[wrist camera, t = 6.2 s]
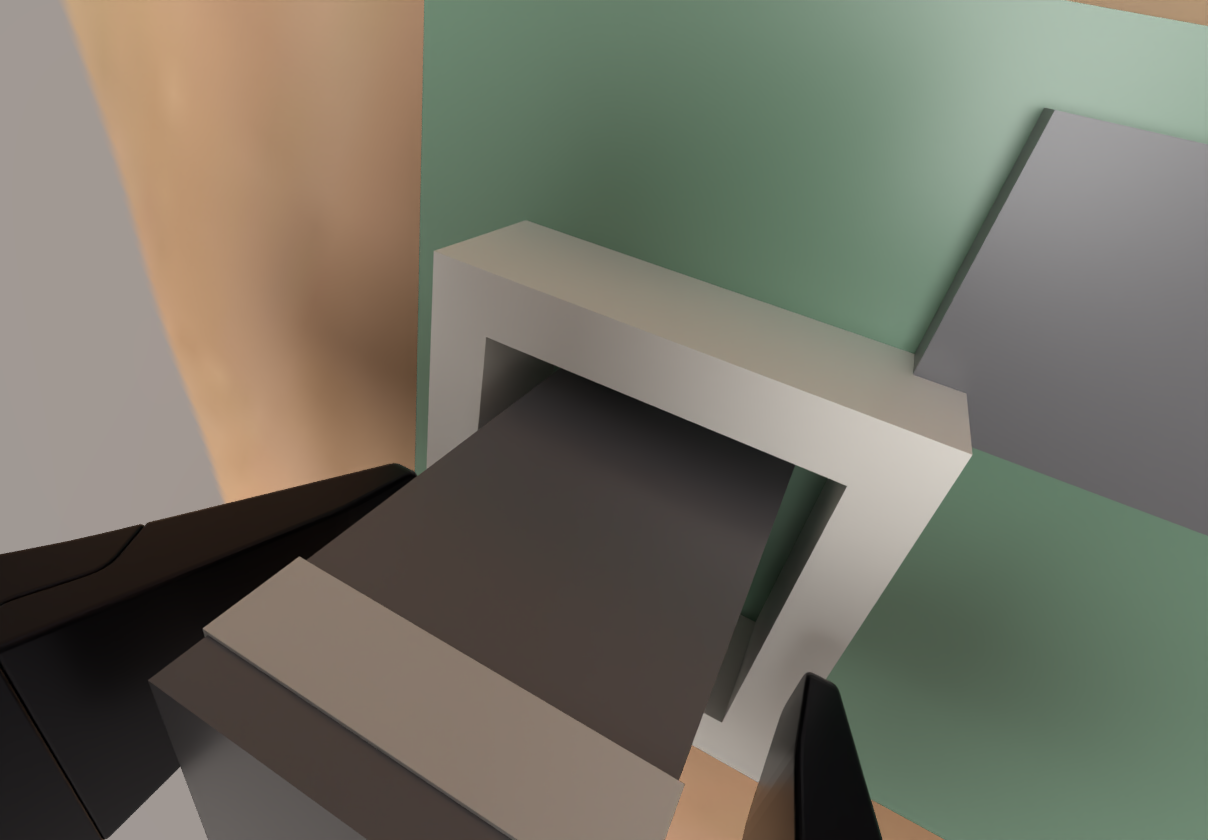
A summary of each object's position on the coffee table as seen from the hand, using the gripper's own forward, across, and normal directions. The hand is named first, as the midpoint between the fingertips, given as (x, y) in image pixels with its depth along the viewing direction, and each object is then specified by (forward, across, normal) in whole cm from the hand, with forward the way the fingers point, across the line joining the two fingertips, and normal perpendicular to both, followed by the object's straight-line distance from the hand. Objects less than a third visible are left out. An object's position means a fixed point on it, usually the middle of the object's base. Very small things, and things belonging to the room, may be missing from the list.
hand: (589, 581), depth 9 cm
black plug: (+3, 0, 0) cm, 3 cm away
